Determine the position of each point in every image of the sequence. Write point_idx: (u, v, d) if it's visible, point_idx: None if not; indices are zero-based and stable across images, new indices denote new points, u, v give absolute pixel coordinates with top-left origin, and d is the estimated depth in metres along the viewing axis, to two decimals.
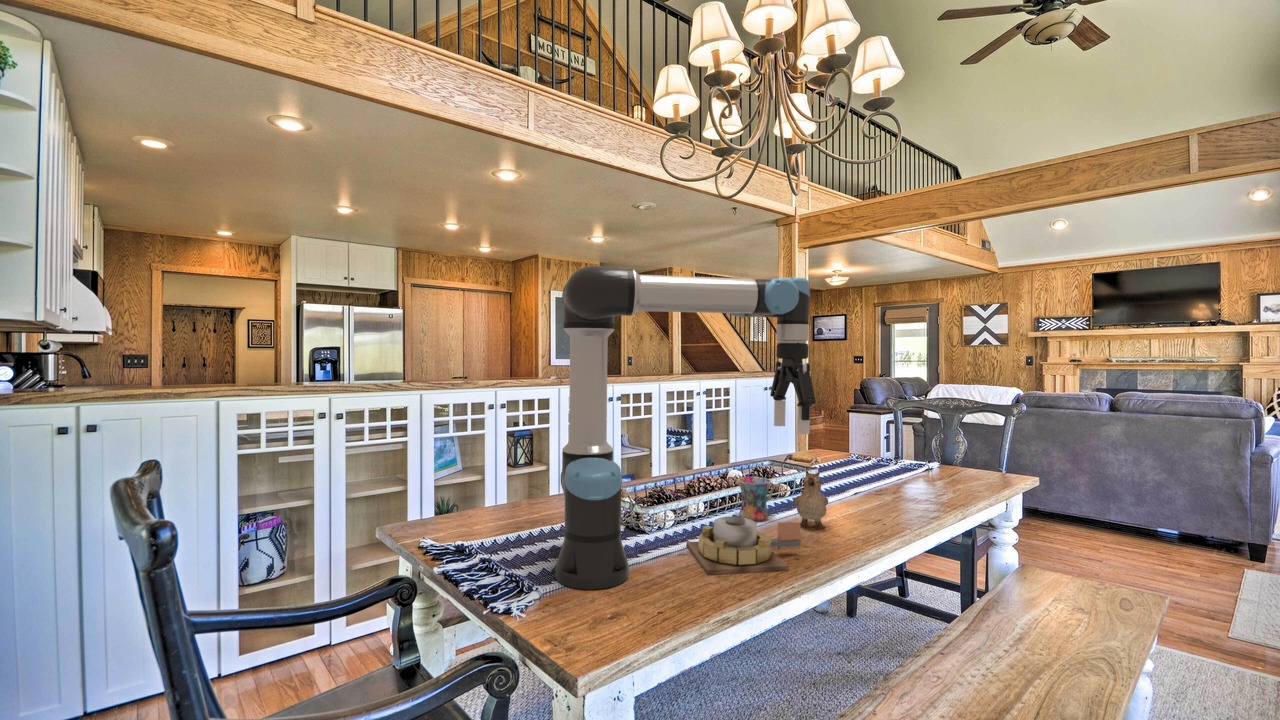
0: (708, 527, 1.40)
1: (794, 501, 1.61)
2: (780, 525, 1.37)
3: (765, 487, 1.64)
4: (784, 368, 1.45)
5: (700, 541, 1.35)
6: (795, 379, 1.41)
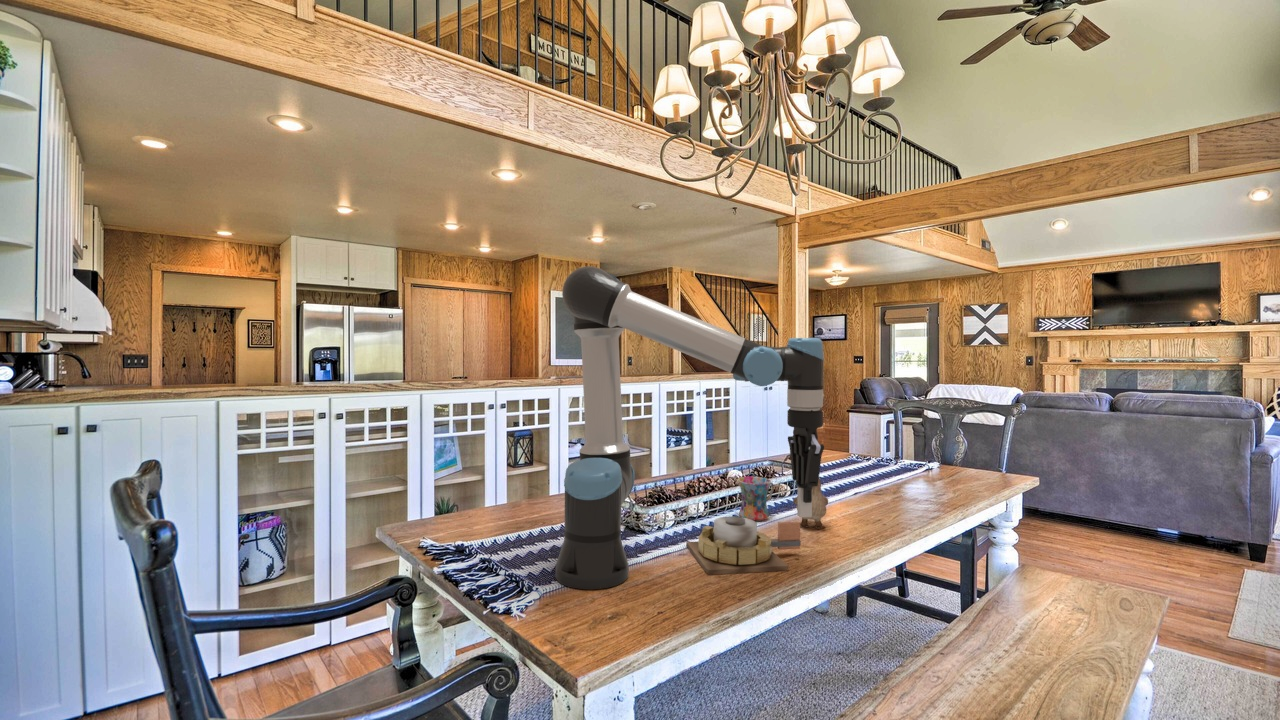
0: (708, 527, 1.40)
1: (794, 501, 1.61)
2: (780, 525, 1.37)
3: (765, 487, 1.64)
4: (796, 435, 1.31)
5: (700, 541, 1.35)
6: (804, 455, 1.29)
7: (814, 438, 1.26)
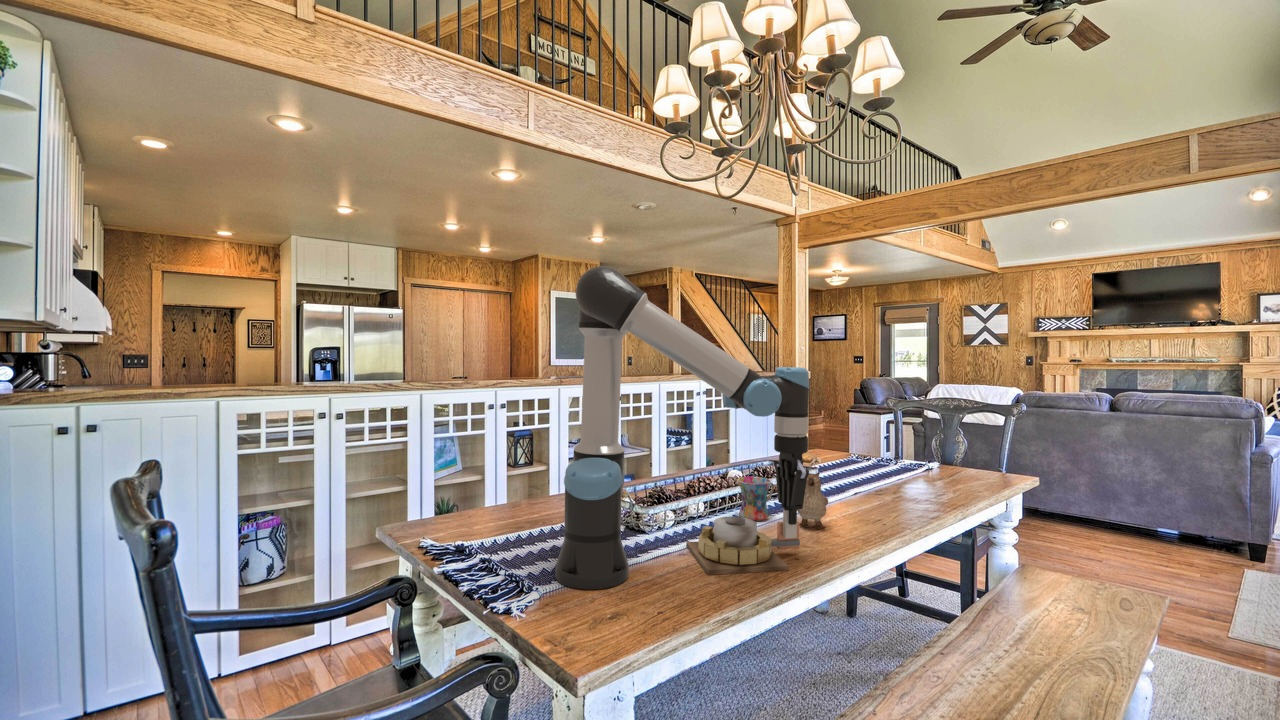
0: (708, 527, 1.39)
1: None
2: (779, 525, 1.37)
3: (765, 487, 1.64)
4: (782, 460, 1.37)
5: (700, 541, 1.34)
6: (790, 479, 1.35)
7: (800, 463, 1.33)
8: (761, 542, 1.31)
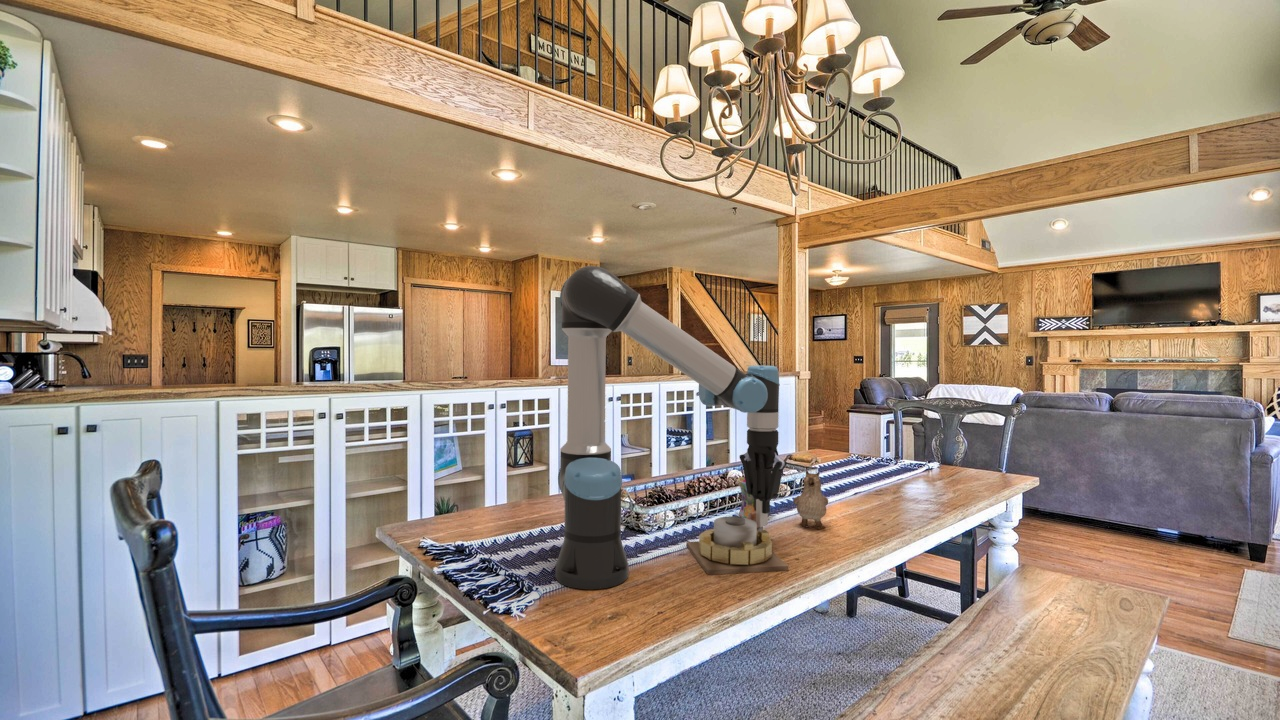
0: (706, 534, 1.34)
1: (794, 501, 1.61)
2: (754, 515, 1.44)
3: None
4: (755, 453, 1.45)
5: (718, 550, 1.29)
6: (765, 471, 1.43)
7: (776, 455, 1.42)
8: (764, 535, 1.36)
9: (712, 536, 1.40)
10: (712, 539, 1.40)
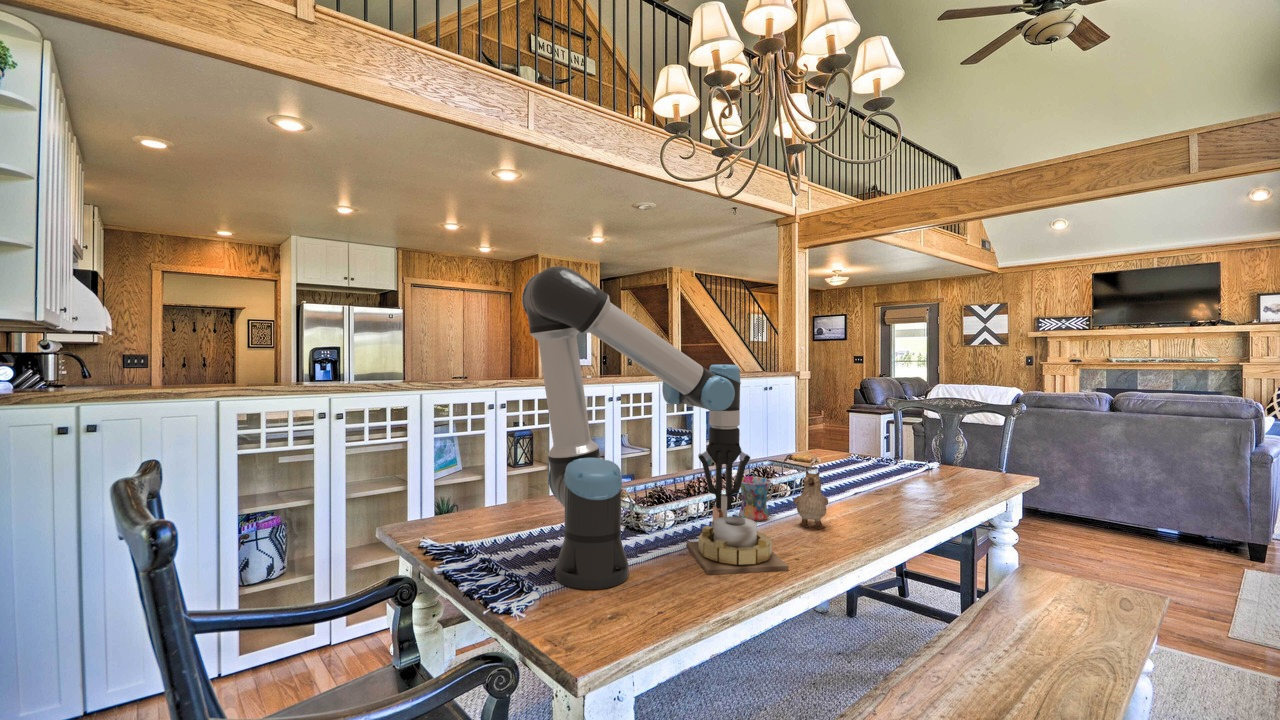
0: (721, 541, 1.30)
1: (794, 501, 1.61)
2: None
3: (765, 487, 1.64)
4: (721, 452, 1.47)
5: (745, 552, 1.28)
6: (731, 467, 1.47)
7: None
8: None
9: None
10: None
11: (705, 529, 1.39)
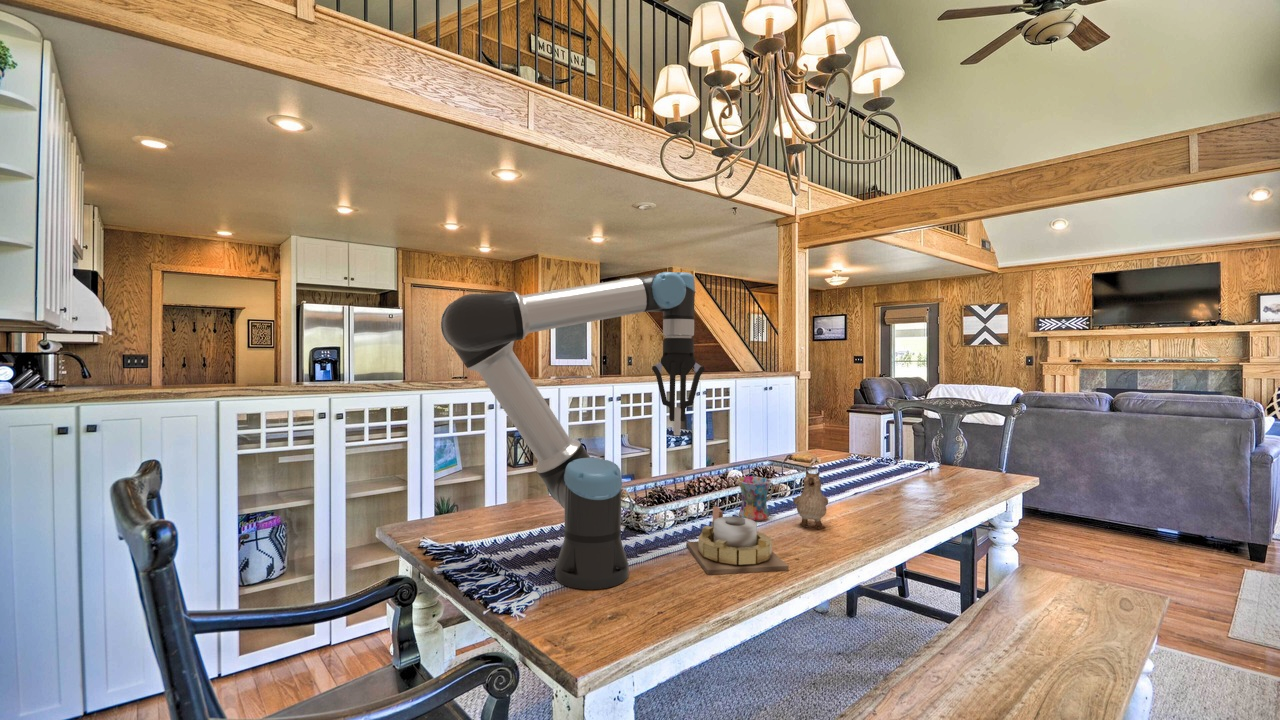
0: (721, 541, 1.30)
1: (794, 501, 1.61)
2: None
3: (765, 487, 1.64)
4: (674, 362, 1.43)
5: (745, 552, 1.28)
6: (685, 378, 1.44)
7: None
8: None
9: None
10: None
11: (705, 529, 1.39)
